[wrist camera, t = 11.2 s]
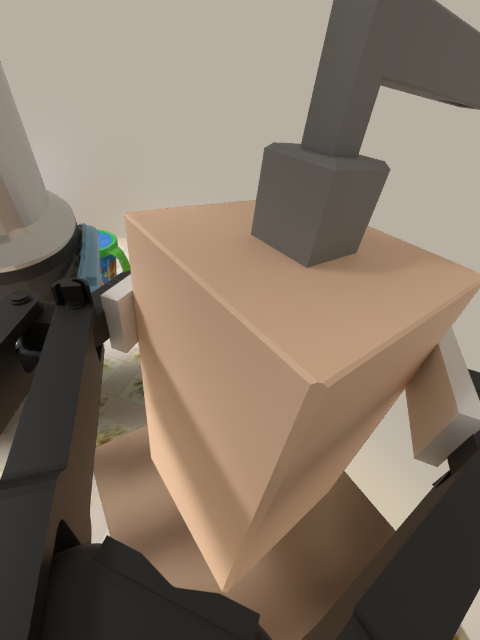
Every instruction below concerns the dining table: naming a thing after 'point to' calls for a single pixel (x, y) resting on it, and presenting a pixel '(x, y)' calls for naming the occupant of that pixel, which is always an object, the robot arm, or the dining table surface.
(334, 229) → the soap dispenser
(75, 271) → the robot arm
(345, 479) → the walnut stool
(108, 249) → the snack cup
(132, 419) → the dining table surface
